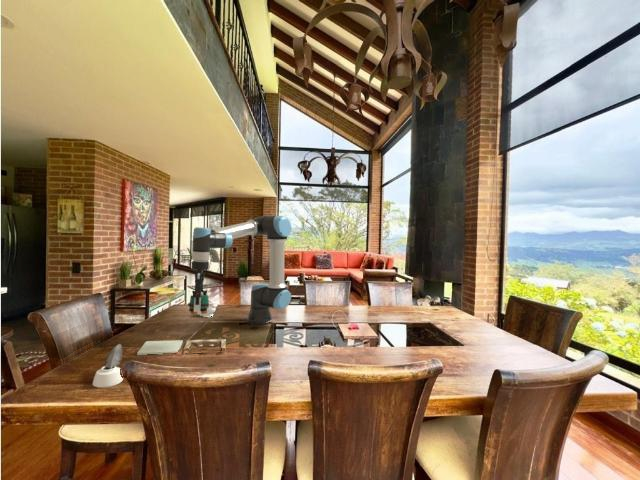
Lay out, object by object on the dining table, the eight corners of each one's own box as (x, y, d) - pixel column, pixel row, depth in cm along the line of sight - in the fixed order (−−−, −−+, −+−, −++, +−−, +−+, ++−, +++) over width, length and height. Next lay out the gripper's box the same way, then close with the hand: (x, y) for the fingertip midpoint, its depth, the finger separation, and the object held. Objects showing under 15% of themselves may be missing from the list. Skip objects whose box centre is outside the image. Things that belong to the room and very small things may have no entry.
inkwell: (88, 389, 110) (89, 359, 110) (104, 367, 128) (105, 341, 127) (119, 386, 113) (120, 357, 113) (131, 365, 130) (132, 340, 130)
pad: (182, 342, 159) (182, 340, 159) (177, 353, 145) (177, 351, 145) (146, 343, 155) (146, 341, 155) (137, 355, 141) (137, 352, 141)
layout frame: (225, 340, 165) (225, 339, 165) (224, 352, 149) (225, 351, 149) (187, 341, 161) (187, 340, 161) (182, 354, 144) (182, 353, 144)
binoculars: (207, 289, 160) (210, 290, 151) (206, 311, 159) (210, 313, 150) (187, 289, 156) (190, 291, 147) (186, 312, 155) (189, 315, 146)
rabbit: (218, 315, 210) (219, 297, 210) (210, 319, 201) (211, 299, 201) (200, 314, 213) (201, 295, 212) (192, 317, 203) (193, 298, 203)
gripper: (194, 258, 163) (192, 303, 163) (189, 263, 141) (186, 315, 141) (210, 259, 165) (208, 303, 165) (207, 263, 143) (204, 314, 143)
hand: (198, 308), depth 153 cm, fingers closed on binoculars, 10 cm apart
